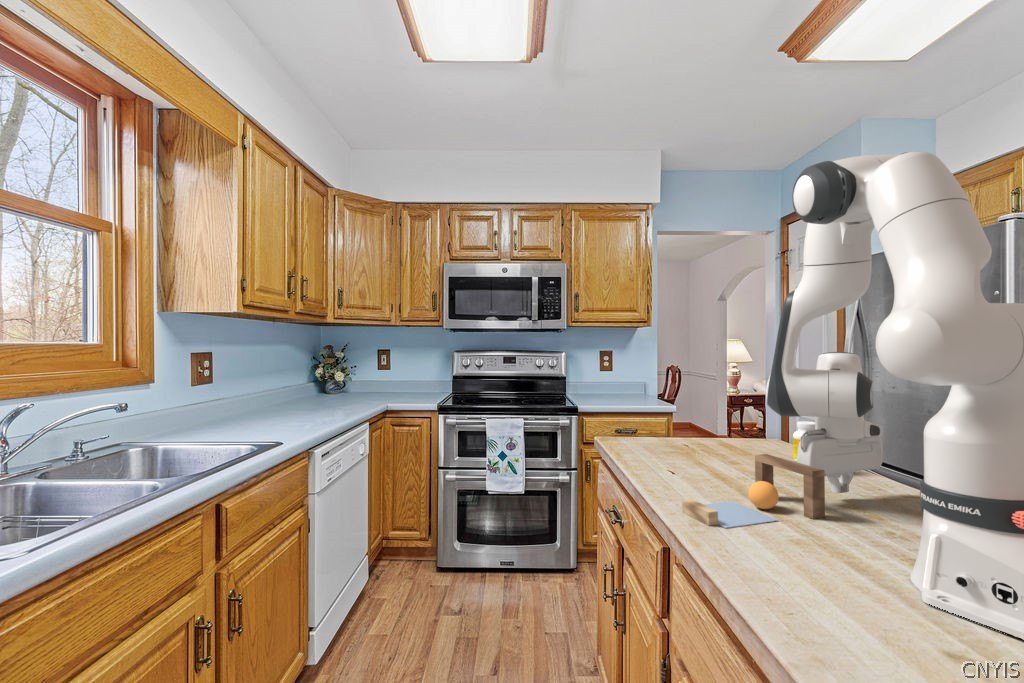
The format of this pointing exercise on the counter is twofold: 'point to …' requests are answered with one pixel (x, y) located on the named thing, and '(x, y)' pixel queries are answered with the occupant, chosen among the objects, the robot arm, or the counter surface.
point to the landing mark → (738, 515)
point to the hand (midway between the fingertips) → (840, 492)
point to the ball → (763, 495)
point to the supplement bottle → (802, 428)
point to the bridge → (812, 481)
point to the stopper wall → (700, 512)
